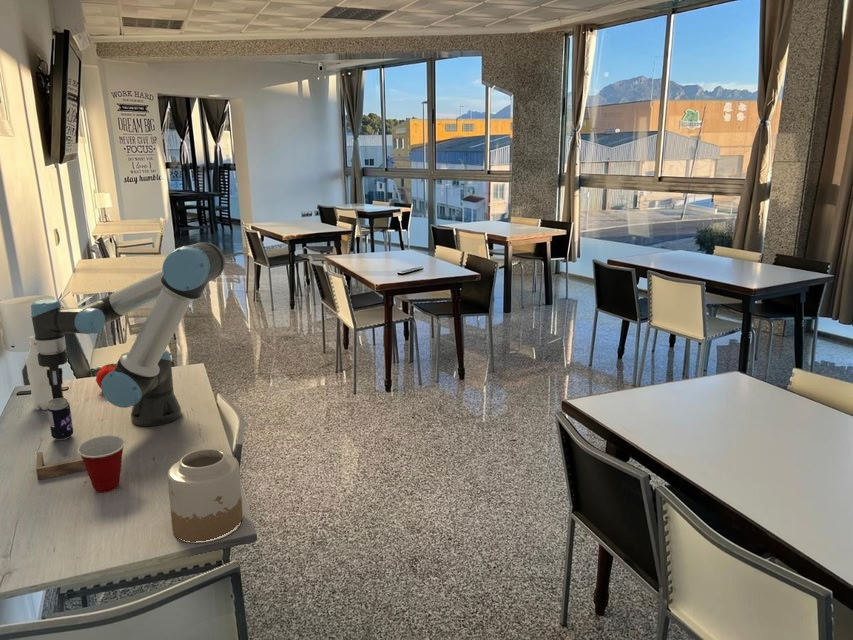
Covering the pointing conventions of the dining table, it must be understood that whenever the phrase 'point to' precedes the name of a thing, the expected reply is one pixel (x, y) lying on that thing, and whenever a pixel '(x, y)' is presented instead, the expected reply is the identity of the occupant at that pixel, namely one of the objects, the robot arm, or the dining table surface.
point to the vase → (204, 495)
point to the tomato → (104, 373)
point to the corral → (57, 467)
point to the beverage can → (60, 418)
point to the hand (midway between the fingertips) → (61, 424)
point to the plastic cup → (103, 461)
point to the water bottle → (38, 379)
